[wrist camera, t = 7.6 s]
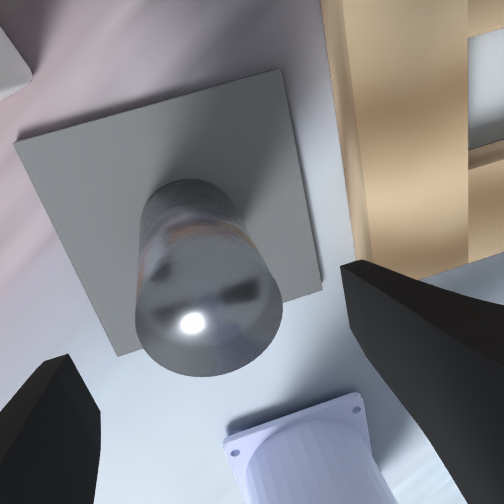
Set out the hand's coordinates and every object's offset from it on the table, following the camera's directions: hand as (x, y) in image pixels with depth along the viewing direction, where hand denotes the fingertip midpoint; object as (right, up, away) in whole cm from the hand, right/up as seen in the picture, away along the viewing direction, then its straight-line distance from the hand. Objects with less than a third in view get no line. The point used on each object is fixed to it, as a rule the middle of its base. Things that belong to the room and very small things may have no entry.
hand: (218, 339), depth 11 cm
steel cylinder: (-2, +3, +7) cm, 8 cm away
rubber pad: (-2, +3, +7) cm, 8 cm away
